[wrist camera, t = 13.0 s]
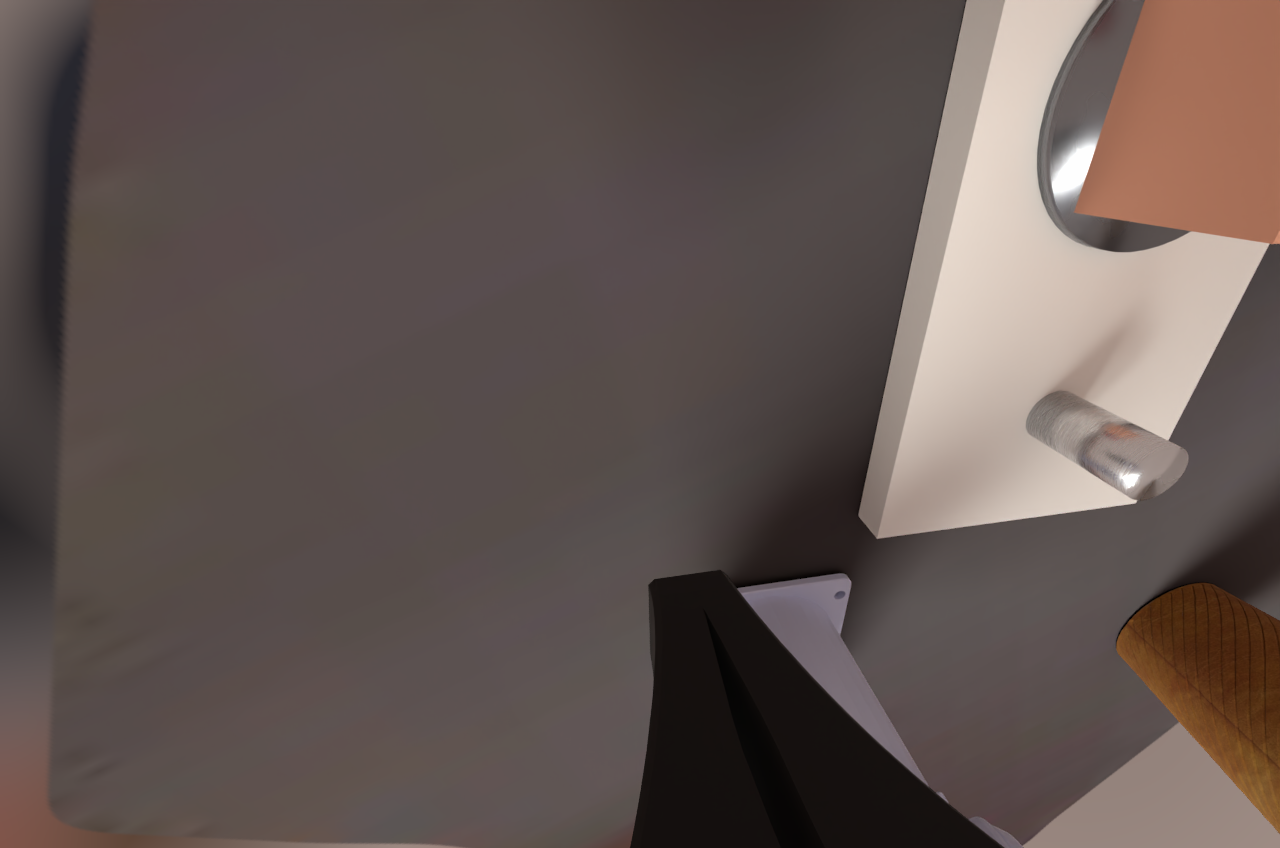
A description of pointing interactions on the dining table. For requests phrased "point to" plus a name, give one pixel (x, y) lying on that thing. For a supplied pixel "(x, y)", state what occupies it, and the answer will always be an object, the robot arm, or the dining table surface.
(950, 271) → the board
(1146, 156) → the collar
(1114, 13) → the disc
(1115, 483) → the stand rod
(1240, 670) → the disposable coffee cup
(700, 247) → the dining table surface
